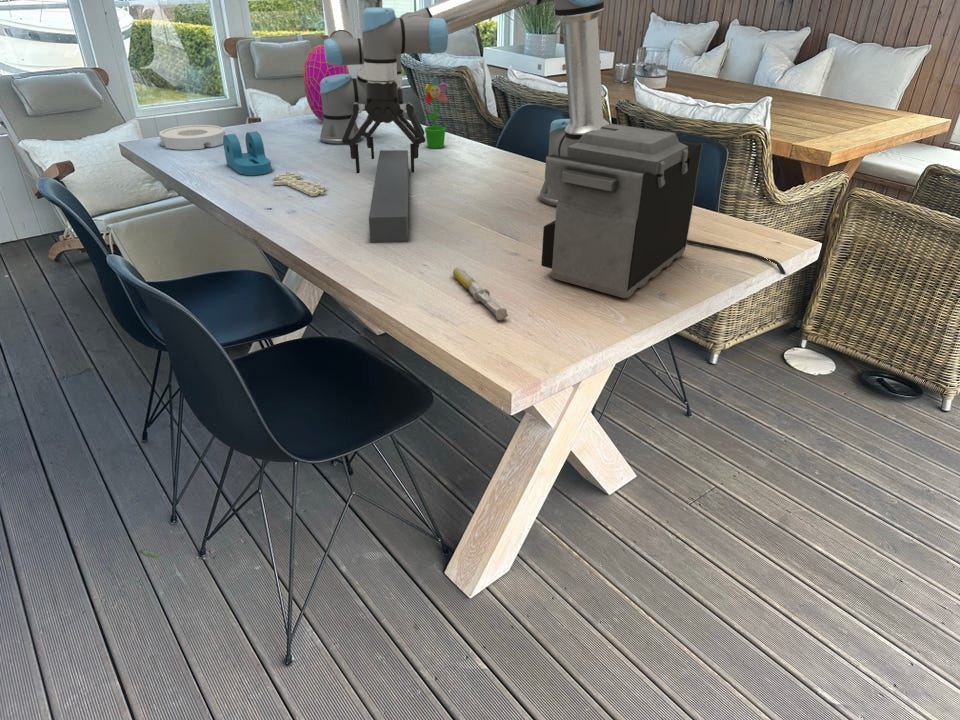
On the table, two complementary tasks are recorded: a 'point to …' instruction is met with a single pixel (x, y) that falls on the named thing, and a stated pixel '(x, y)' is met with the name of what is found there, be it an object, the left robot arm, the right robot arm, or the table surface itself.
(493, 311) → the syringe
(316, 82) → the decorative egg
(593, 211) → the dark grey storage case
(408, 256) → the table surface
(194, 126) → the ashtray
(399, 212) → the thick board
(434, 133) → the potted flower
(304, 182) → the decorative sign
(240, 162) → the camera mount
